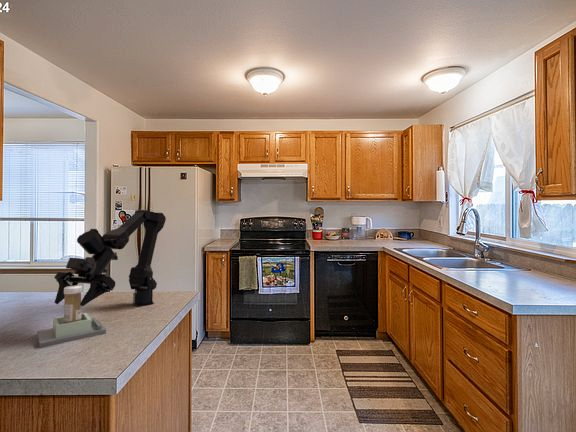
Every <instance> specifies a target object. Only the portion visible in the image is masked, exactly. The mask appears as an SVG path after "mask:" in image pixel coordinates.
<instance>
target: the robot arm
mask: <svg viewBox="0 0 576 432" xmlns="http://www.w3.org/2000/svg"><path fill="white" fill-rule="evenodd" d="M166 219H167V217H166V215H165V214H164V213H163V212H155V211H150V210H148V209H137V210H135V211H134V213H133V215H130V217H129V218H128V219H127V220H125V222H123V223H122V224H121V225H119V227H117V228H114V229H112V230H109V231H108V232H105V233H104V234H103V235H101V233H100V231H98V229H97V228H90V229H89V230H87V231H85V232H83V233H82V234H80V235H79V236H78V237H77V239H76V242H77V244H79V246H80V247H81V248H82V249H83V250H84V251H85V252H86V253H87V254H88V255H91V256H87V257H85V258H80V257H69V259H68V262H67V264H66V265H65V268H66V269H70V270H74V274H75V275H77V276H75V275H74V274H73V273H72V271H58V272H57V273H56V274H55V275H54V279H55V280H56V281H55V282H57V283H58V290H57V292H56V295H55V300H54V304H55V305H58V304H60V302H62V301H63V300H64V297H65V296H64V288H65V287H68V286H75V285H79V284H89V289H88V290H87V292H86V293H85V295H84V296H83V298H81V303H80V305H81V307H84V306H86V305H87V304H89V303H90V302H92V301H93V300H95V299H97V298H99V297H100V296H102V295H103V294H105V293H108V292H109V291H113V290H114V289H115V286H116V281H115V280H114V279H113V278H112V277H111V275H110V274H108V273H107V272H108V269H106V268H107V267H108V266H109V264H110V263H111V261H118V259H119V258H118V253H117V252H116V251H115V252H114V250H123V249H124V248H125V247H126V246H127V245H128V243H129V241H130V236H131V235H132V234H133V233H135V231H136V230H137V229H138V228H140V227H141V226H142V225H143V227H144V229H145V233H144V237H143V240H142V245H141V249H140V253H139V257H138V262H137V264H136V265H135V267H134V266H133V267H131V268H130V271H129V275H128V283H129V286H130V290H134V292H133V294H132V304H133V305H135V306H136V307H143V306H147V305H152V304H155V302H154V301H153V297H154V296H153V290H155V289H157V284H158V283H157V282H156V280H155V278H154V277H153V275H154V271H153V269H152V261H153V256H154V253H155V252H154V251H155V248H156V242H157V240H158V235H159V233H160V232H161V231H162V229H163V228H164V225H165V224H166Z"/></svg>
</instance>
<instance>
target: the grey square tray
mask: <svg viewBox="0 0 576 432" xmlns="http://www.w3.org/2000/svg"><path fill="white" fill-rule="evenodd" d="M105 334H107V329H106V327H105V326H104V325H103V324H102V323H101V321H100V320H99V319H97V318H96V317H92V318H91V317H90V316H89V314H88V313H87V312H81V321H76V322H71V323H66V324H64V316H59V317H58V316H57V317H53V318H52V328H51V327H50V328H46V329H40V330H37V331H36V337H37V341H38V345H39V348H46V347H49V346H50V347H51V346H55V345H59V344H64V343H68V342H69V343H70V342H73V341H78V340H81V339H82V340H83V339H86V338H91V337H96V336H99V335H105Z"/></svg>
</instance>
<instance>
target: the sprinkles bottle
mask: <svg viewBox="0 0 576 432" xmlns="http://www.w3.org/2000/svg"><path fill="white" fill-rule="evenodd" d="M82 292H83V286H82V285H80V284H78V285H75V286H68V287H65V288H64V296H65V297H64V299H63V300H64V301H63V302H64V303H63V311H64V312H63V317H64V324H66V323H71V322H76V321H81V313H82V306H81V305H80V303H81V301H82Z"/></svg>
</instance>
